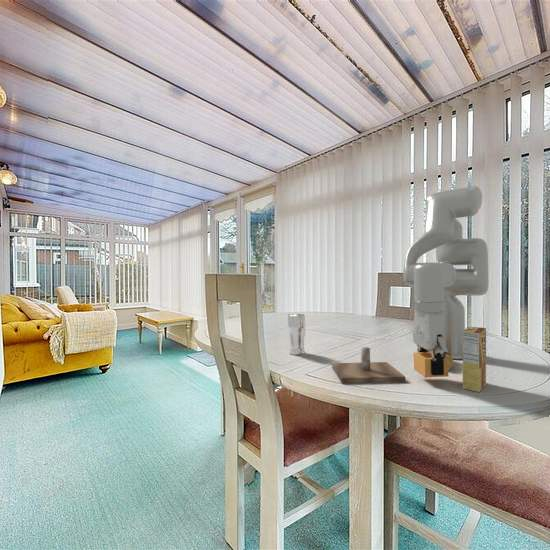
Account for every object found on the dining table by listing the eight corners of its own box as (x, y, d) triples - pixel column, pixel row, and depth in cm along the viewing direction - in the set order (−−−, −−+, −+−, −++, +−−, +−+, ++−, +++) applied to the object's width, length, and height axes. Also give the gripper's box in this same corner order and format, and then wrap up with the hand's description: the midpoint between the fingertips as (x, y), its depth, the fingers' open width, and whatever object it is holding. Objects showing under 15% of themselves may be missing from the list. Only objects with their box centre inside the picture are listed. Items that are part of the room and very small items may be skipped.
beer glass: (305, 350, 120) (305, 313, 120) (306, 355, 114) (305, 316, 113) (288, 350, 121) (287, 313, 121) (287, 355, 114) (286, 316, 114)
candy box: (469, 379, 85) (468, 326, 85) (487, 383, 82) (486, 327, 82) (462, 388, 79) (461, 330, 79) (481, 393, 76) (480, 332, 76)
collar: (435, 368, 88) (435, 351, 88) (448, 376, 82) (448, 358, 82) (414, 369, 88) (413, 352, 88) (425, 377, 82) (424, 359, 82)
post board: (386, 366, 98) (386, 342, 98) (405, 381, 84) (404, 353, 84) (332, 367, 98) (331, 343, 98) (341, 383, 84) (341, 355, 84)
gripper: (402, 304, 93) (404, 361, 94) (432, 312, 76) (433, 382, 76) (426, 303, 93) (428, 360, 94) (461, 311, 76) (463, 381, 76)
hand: (430, 369), depth 85 cm, fingers closed on collar, 6 cm apart
